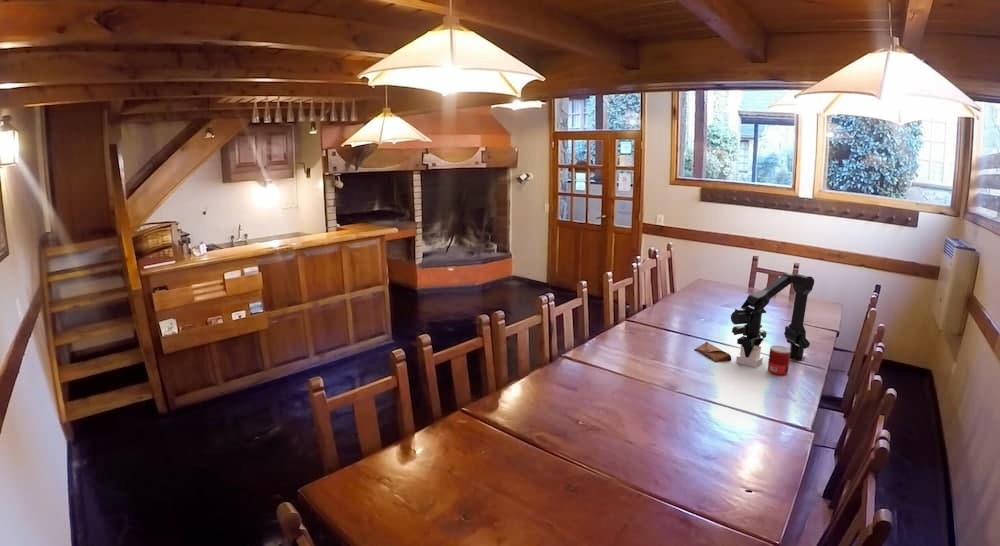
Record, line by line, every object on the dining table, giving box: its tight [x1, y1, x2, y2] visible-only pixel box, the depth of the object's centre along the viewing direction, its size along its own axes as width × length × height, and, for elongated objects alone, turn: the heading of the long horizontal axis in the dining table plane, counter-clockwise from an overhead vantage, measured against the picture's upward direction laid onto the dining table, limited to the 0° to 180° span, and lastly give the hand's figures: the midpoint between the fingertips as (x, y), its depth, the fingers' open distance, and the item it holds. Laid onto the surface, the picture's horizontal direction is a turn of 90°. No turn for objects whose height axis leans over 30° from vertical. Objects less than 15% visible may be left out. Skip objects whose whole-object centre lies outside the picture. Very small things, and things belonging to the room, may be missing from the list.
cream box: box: [739, 345, 762, 360], centre depth 266 cm, size 5×7×5 cm
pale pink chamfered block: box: [735, 353, 764, 369], centre depth 267 cm, size 7×9×3 cm
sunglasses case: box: [694, 341, 732, 363], centre depth 277 cm, size 18×7×7 cm, turn 18°
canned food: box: [767, 345, 791, 377], centre depth 256 cm, size 8×8×11 cm
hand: (749, 355), depth 267 cm, fingers open, 7 cm apart
